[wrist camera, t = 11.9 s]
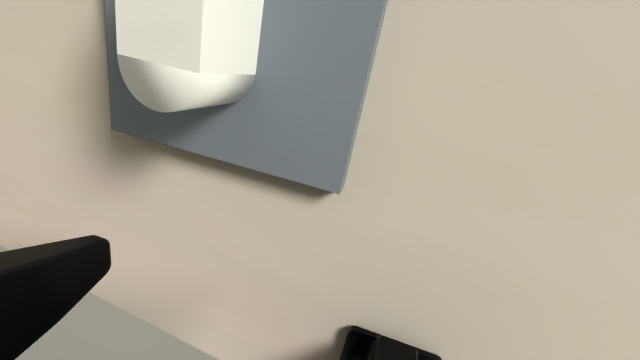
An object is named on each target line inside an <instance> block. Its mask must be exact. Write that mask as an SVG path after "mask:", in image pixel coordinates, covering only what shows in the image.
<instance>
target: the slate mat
mask: <svg viewBox="0 0 640 360" xmlns="http://www.w3.org/2000/svg"><path fill="white" fill-rule="evenodd" d="M104 1H105V19H106V38H107V56H108V74H109V92H110V110H111V129H112V130H116V131H119V132H123V133H126V134H130V135H133V136H137V137H140V138H144V139H147V140H151V141H154V142H158V143H161V144H165V145H168V146H172V147H175V148H179V149H182V150H186V151H189V152H193V153H196V154H200V155H203V156H207V157H211V158H214V159H218V160H221V161H225V162H228V163H232V164H235V165H239V166H242V167H246V168H249V169H253V170H256V171H260V172H263V173H267V174H270V175H274V176H277V177H281V178H284V179H288V180H291V181H295V182H298V183H302V184H305V185H309V186H312V187H316V188H319V189H323V190H326V191H330V192H333V193H337V194H340V192H341V191H342V189H343V187H344V182H345V178H346V174H347V170H348V165H349V161H350V157H351V153H352V149H353V144H354V140H355V136H356V132H357V127H358V123H359V119H360V115H361V111H362V106H363V102H364V98H365V94H366V90H367V85H368V81H369V77H370V73H371V68H372V64H373V60H374V56H375V52H376V47H377V43H378V39H379V35H380V31H381V26H382V22H383V18H384V14H385V9H386V5H387V1H388V0H264V5H263V13H262V22H261V31H260V40H259V48H258V57H257V66H256V74H255V80H254V83H253V86H252V88H251V90H250V91H249V93H248V94H247V95H246V96H245V97H244V98H243V99H241V100H239V101H237V102H235V103H230V104H223V105H216V106H209V107H202V108H195V109H189V110H182V111H175V112H158V111H155V110H152V109H150V108H148V107H146V106H145V105H143V104H142V103H141V102H139V101H138V100H137V99H136V98H135V97H134V96H133V94H132V93H131V92H130V91H129V89H128V87H127V86H126V84H125V82H124V80H123V78H122V75H121V72H120V69H119V65H118V58H117V39H116V13H115V0H104Z"/></svg>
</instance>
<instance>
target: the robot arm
mask: <svg viewBox="0 0 640 360" xmlns="http://www.w3.org/2000/svg"><path fill="white" fill-rule="evenodd" d="M110 267H111V253H110V243H109V241H108V240H107V239H105V238H102V237H99V236H96V235H90V236H85V237H79V238H74V239H69V240H63V241H58V242H53V243H47V244H42V245H37V246H31V247H26V248H21V249H15V250H10V251H5V252H0V360H15V359H16V358H17V357H18V356H19V355H20V354H22V353H23V352H24V351H25V350H26V349H28V348H29V347H30V346H31V345H32V344H33V343H34V342H35V341H37V340H38V339H39V338H40V337H41V336H43V334H45V333H46V332H47V331H48V330H50V329H51V328H52V327H53V326H54V325H55V324H56V323H57V322H58V321H60V320H61V319H62V318H63V317H64V316H65V315H66V314H67V313H68V312H69V311H70V310H71V309H72V308H73V307H74V306H75V305H76V304H77V303H78V302H79V301H80V300H81V299H82V298H83V297H84V296H85V295H86V294H87V293H88V292H89V291H90V290H91V289H92V288H93V287H94V286H95V285H96V284H97V283H98V282H99V281H100V280H101V279H102V278H103V277H104V276H105V275H106V274H107V272H108V271H109V269H110ZM353 333H356V334H357V335H356V334H353ZM340 360H442V359H441V358H440V357H439V356H437V355H435V354H432V353H430V352H427V351H424V350H421V349H418V348H416V347H413V346H410V345H407V344H405V343H402V342H399V341H396V340H394V339H391V338H388V337H385V336H382V335H380V334H377V333H374V332H371V331H369V330H366V329H363V328H360V327H358V326H352V327H350V328H349V331H348V334H347V337H346V341H345V344H344V347H343V351H342V354H341V357H340Z"/></svg>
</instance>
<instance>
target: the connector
mask: <svg viewBox="0 0 640 360" xmlns="http://www.w3.org/2000/svg"><path fill="white" fill-rule="evenodd" d="M263 5H264V0H115V13H116V39H117V58H118V65H119V69H120V72H121V75H122V78H123V80H124V82H125V84H126V86H127V87H128V89H129V91H130V92H131V93H132V94H133V96H134V97H135V98H136V99H137V100H138V101H139V102H141V103H142V104H143V105H145V106H146V107H148V108H150V109H152V110H155V111H158V112H175V111H182V110H189V109H195V108H202V107H209V106H216V105H223V104H230V103H235V102H237V101H239V100H241V99H243V98H244V97H245V96H246V95H247V94H248V93H249V91H250V90H251V88H252V86H253V83H254V80H255V74H256V66H257V57H258V48H259V40H260V31H261V22H262V13H263Z"/></svg>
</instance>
